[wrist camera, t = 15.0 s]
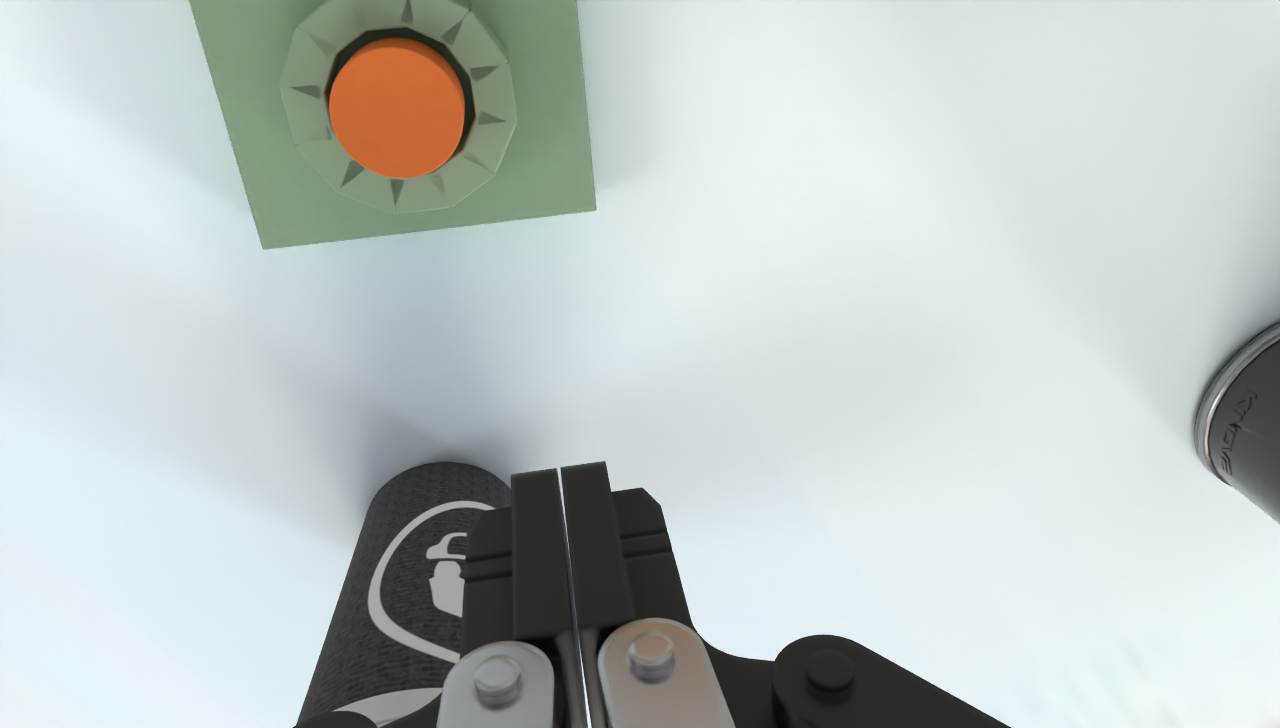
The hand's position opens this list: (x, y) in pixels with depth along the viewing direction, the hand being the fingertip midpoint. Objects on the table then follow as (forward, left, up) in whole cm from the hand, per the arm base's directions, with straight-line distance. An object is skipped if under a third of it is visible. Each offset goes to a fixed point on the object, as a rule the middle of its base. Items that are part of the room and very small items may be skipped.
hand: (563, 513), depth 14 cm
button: (+3, -4, -16) cm, 16 cm away
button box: (+3, -4, -19) cm, 19 cm away
